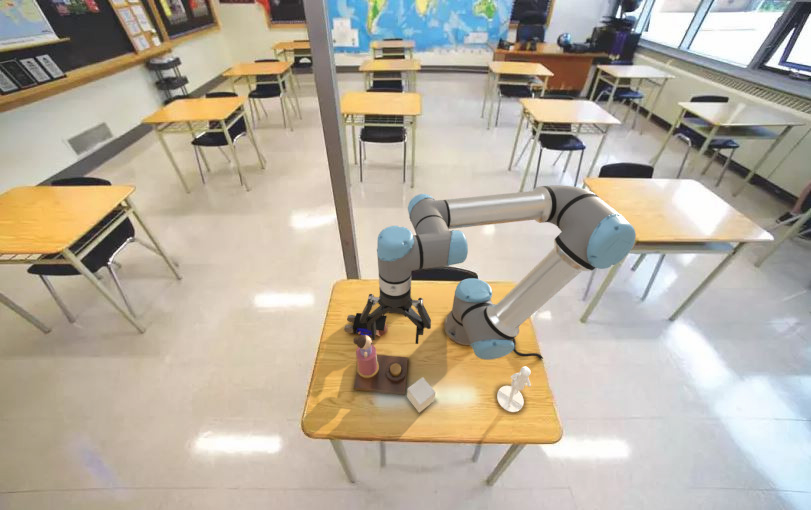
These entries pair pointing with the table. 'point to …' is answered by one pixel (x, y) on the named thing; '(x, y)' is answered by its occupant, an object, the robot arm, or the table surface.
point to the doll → (366, 357)
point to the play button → (395, 369)
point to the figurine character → (365, 325)
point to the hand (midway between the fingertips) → (395, 337)
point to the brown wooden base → (385, 377)
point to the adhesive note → (421, 394)
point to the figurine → (514, 391)
